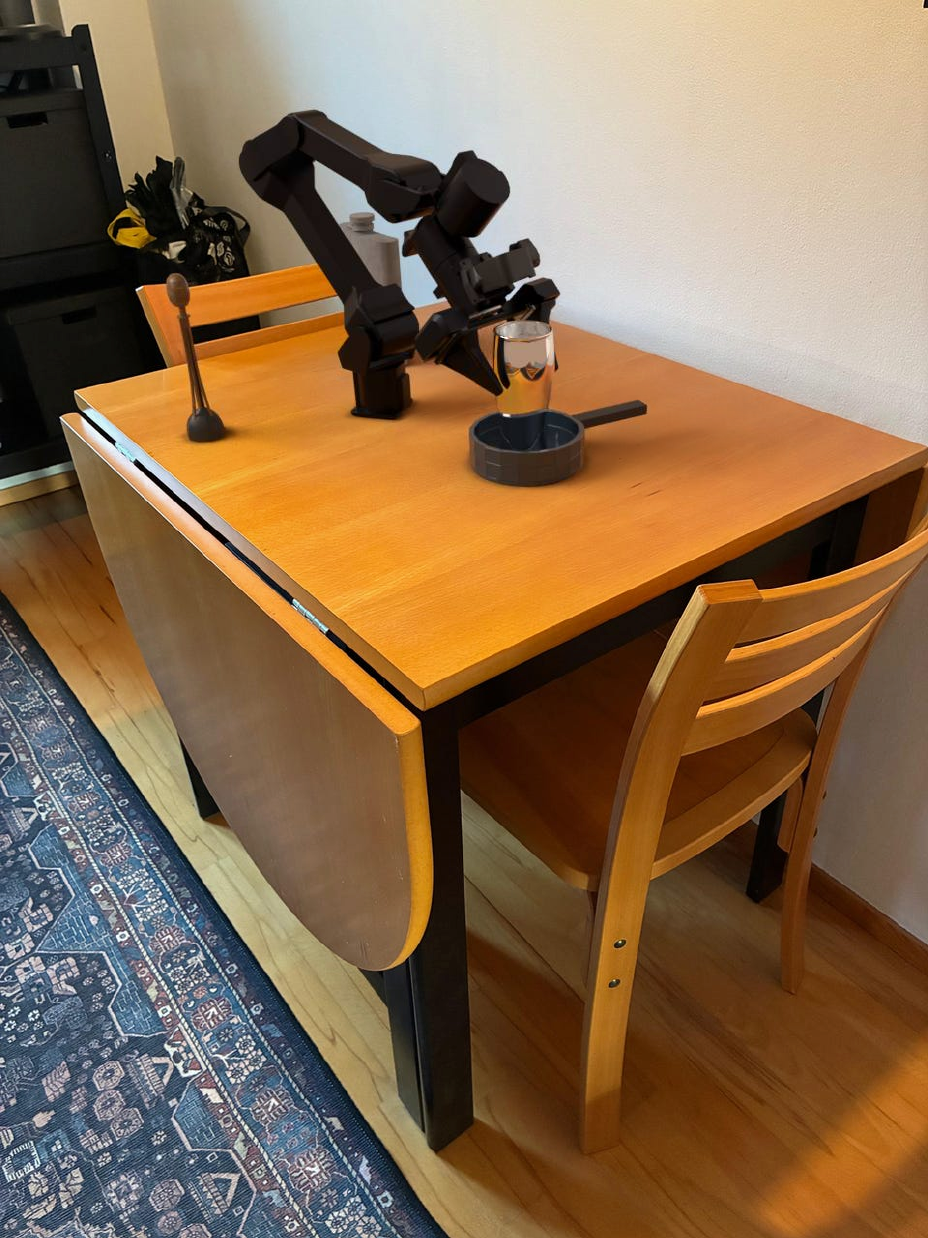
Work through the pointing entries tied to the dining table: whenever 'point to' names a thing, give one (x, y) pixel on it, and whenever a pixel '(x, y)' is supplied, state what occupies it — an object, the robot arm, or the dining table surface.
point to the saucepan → (527, 452)
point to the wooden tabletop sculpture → (193, 369)
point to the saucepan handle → (611, 413)
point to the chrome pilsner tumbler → (523, 382)
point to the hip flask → (374, 248)
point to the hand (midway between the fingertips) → (528, 382)
